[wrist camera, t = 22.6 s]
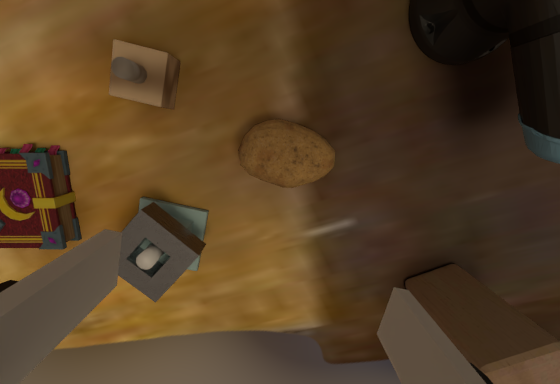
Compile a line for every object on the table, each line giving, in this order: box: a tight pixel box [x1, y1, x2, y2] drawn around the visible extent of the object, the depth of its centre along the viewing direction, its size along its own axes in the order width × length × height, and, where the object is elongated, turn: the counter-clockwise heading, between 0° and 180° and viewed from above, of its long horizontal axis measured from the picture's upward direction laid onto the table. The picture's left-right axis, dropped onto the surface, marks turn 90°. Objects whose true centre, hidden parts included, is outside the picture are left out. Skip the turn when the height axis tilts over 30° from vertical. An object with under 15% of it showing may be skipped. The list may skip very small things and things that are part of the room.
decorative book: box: [0, 144, 82, 249], centre depth 42 cm, size 11×16×5 cm
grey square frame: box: [118, 202, 206, 302], centre depth 40 cm, size 10×10×4 cm
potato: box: [238, 119, 335, 188], centre depth 40 cm, size 10×14×8 cm
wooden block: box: [405, 264, 560, 384], centre depth 41 cm, size 10×10×20 cm
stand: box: [109, 39, 180, 109], centre depth 37 cm, size 7×7×9 cm
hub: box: [136, 197, 209, 271], centre depth 42 cm, size 11×11×10 cm
